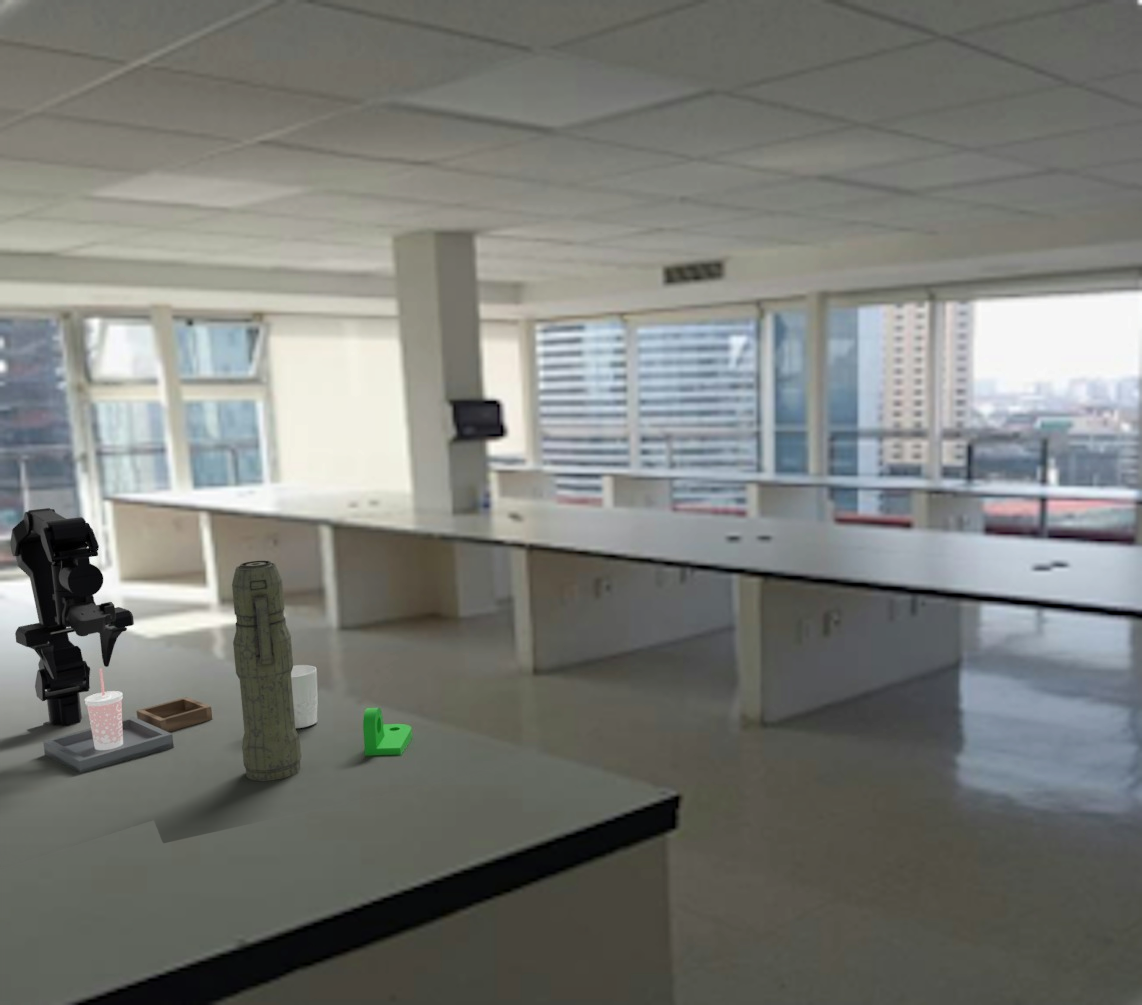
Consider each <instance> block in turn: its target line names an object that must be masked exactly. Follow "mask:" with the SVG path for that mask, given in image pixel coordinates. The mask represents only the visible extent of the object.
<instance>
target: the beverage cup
mask: <svg viewBox="0 0 1142 1005" xmlns="http://www.w3.org/2000/svg"><path fill="white" fill-rule="evenodd" d="M98 671H99V678H100V680H99V681H100V688H101V692H97V693H94V694H90V695H88V696H86V697H85V698H84V702H85V706H87V707H86V708H87V712H88V718H89V723H90V728H91V730H92V735H93V741H94V746H95V749H96V750H109V749H114V748H117V747H119V746H121V745H122V744H123V727H122V719H123V708H122V700H123V695H124V694H123V692H122V691H117V690H108V691H105V684H104V673H103V668H102V667H100V668H99V669H98Z"/></svg>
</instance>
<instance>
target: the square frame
mask: <svg viewBox="0 0 1142 1005" xmlns="http://www.w3.org/2000/svg"><path fill="white" fill-rule="evenodd" d="M136 718H138V719H140V720H142V721H144V722H147V723H149V724H151V725H153V726H156V727H158V728H160V729H162V730H164V731H167V732H169V733H171V732H173V731H176V730H180V729H184V728H187V727H190V726H194V725H196V724H200V723H204V722H207V721H212V720H213V711H212V706H210V705H208V704H206V703H203V702H201V701H198V700H196V699H192V698H190V697H187V696H186V697H182V698H178V699H175V700H170V701H167V702H163V703H160V704H159V703H158V704H155V705H152V706H149V707H148V706H147V707H145V708H142V709H137V710H136Z"/></svg>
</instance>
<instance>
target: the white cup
mask: <svg viewBox="0 0 1142 1005" xmlns="http://www.w3.org/2000/svg"><path fill="white" fill-rule="evenodd" d="M291 680H292V692H293V704H294V716H295V728H296V729H301V728H302V729H303V728H307V727H310V726H313V725H315V724H317V722H318V706H319V704H318V699H319V698H318V697H319V696H318V672H317V667H316V666H313V665H311V664H310V665H309V664H298V665H297V664H296V665H293V668H292V671H291Z"/></svg>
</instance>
